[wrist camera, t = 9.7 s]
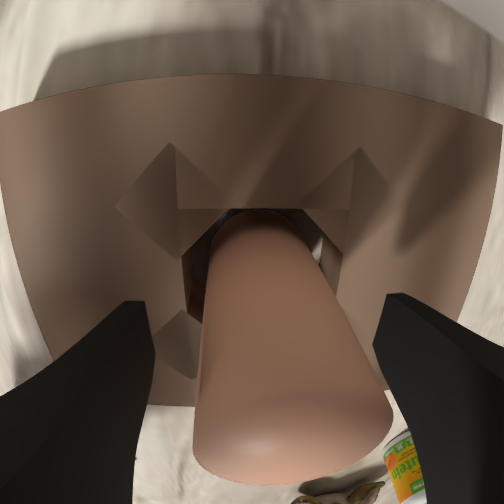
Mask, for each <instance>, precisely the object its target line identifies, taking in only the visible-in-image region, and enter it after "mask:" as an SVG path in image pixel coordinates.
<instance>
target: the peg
mask: <svg viewBox="0 0 504 504" xmlns="http://www.w3.org/2000/svg"><path fill="white" fill-rule="evenodd" d="M392 422H393V410H392V407H391V405H390V403H389V401H388V399H387V397H386V395H385V393H384V391H383V388H382V386H381V384H380V382H379V380H378V378H377V376H376V374H375V372H374V370H373V368H372V366H371V364H370V362H369V360H368V358H367V356H366V354H365V352H364V350H363V348H362V346H361V344H360V342H359V340H358V338H357V337H356V335H355V333H354V331H353V329H352V327H351V325H350V323H349V321H348V319H347V317H346V315H345V314H344V312H343V310H342V308H341V306H340V304H339V302H338V300H337V299H336V297H335V295H334V293H333V291H332V289H331V288H330V286H329V284H328V282H327V280H326V278H325V277H324V275H323V273H322V271H321V269H320V268H319V266H318V264H317V262H316V261H315V259H314V257H313V255H312V253H311V252H310V250H309V248H308V246H307V245H306V243H305V241H304V239H303V238H302V236H301V234H300V232H299V231H298V229H297V228H296V226H295V225H294V224H293V223H292V222H291V221H290V220H289V219H287V218H286V217H284V216H283V215H281V214H279V213H276V212H273V211H269V210H260V209H258V210H249V211H245V212H242V213H239V214H237V215H235V216H233V217H231V218H230V219H228V220H227V221H226V222H225V223H224V224H223V225H222V226H221V227H220V228H219V230H218V231H217V233H216V234H215V236H214V238H213V241H212V245H211V251H210V259H209V267H208V276H207V285H206V294H205V303H204V312H203V322H202V332H201V343H200V354H199V365H198V377H197V389H196V403H195V417H194V433H193V454H194V456H195V459H196V460H197V462H198V463H199V464H200V465H201V466H202V467H203V468H204V469H205V470H207V471H209V472H210V473H212V474H214V475H216V476H218V477H220V478H223V479H226V480H229V481H233V482H237V483H243V484H250V485H265V486H268V485H286V484H294V483H300V482H305V481H309V480H313V479H317V478H320V477H324V476H327V475H329V474H332V473H335V472H337V471H339V470H342V469H344V468H346V467H348V466H350V465H352V464H353V463H355V462H357V461H359V460H360V459H362V458H363V457H365V456H366V455H367V454H369V453H370V452H371V451H372V450H374V449H375V448H376V447H377V446H378V445H379V444H380V443H381V442H382V441H383V439H384V438H385V437H386V435H387V434H388V432H389V430H390V428H391V426H392Z"/></svg>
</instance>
